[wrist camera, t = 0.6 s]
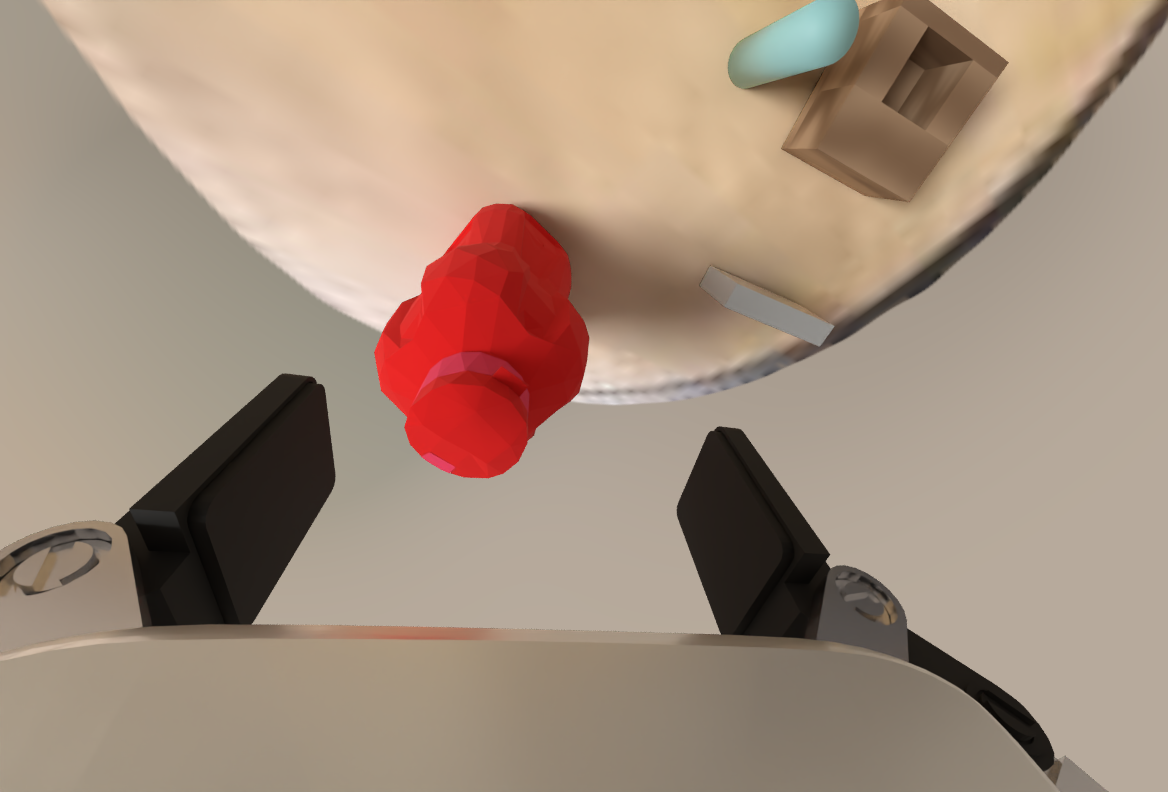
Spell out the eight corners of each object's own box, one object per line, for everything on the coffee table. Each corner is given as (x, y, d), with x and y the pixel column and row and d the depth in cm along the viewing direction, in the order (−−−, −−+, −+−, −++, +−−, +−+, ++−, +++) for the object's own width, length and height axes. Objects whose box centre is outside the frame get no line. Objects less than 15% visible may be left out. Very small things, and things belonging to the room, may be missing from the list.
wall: (710, 265, 38) (737, 283, 33) (796, 303, 40) (834, 326, 35) (699, 285, 39) (723, 307, 33) (784, 321, 41) (819, 346, 36)
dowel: (742, 27, 29) (826, -22, 21) (776, 49, 30) (871, 10, 22) (720, 76, 31) (790, 49, 22) (753, 96, 31) (833, 76, 23)
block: (857, 10, 29) (911, -13, 25) (945, 74, 32) (1008, 62, 27) (781, 148, 33) (817, 148, 29) (864, 195, 36) (909, 202, 31)
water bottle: (420, 284, 36) (248, 482, 15) (500, 182, 33) (429, 248, 11) (504, 350, 40) (465, 582, 19) (584, 264, 37) (648, 429, 15)
